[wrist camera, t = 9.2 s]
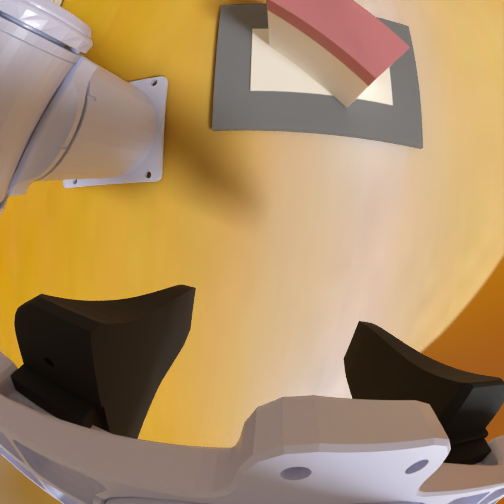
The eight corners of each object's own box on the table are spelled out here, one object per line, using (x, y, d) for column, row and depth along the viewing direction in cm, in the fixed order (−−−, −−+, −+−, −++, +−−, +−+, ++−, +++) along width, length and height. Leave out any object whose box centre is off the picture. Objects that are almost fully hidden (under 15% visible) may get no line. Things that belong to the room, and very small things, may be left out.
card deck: (346, 108, 16) (376, 78, 10) (268, 45, 15) (265, -2, 10) (375, 80, 15) (410, 47, 10) (300, 21, 15) (307, -28, 9)
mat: (212, 130, 18) (211, 129, 17) (221, 8, 15) (220, 4, 15) (420, 148, 17) (423, 148, 16) (406, 28, 14) (408, 25, 14)
